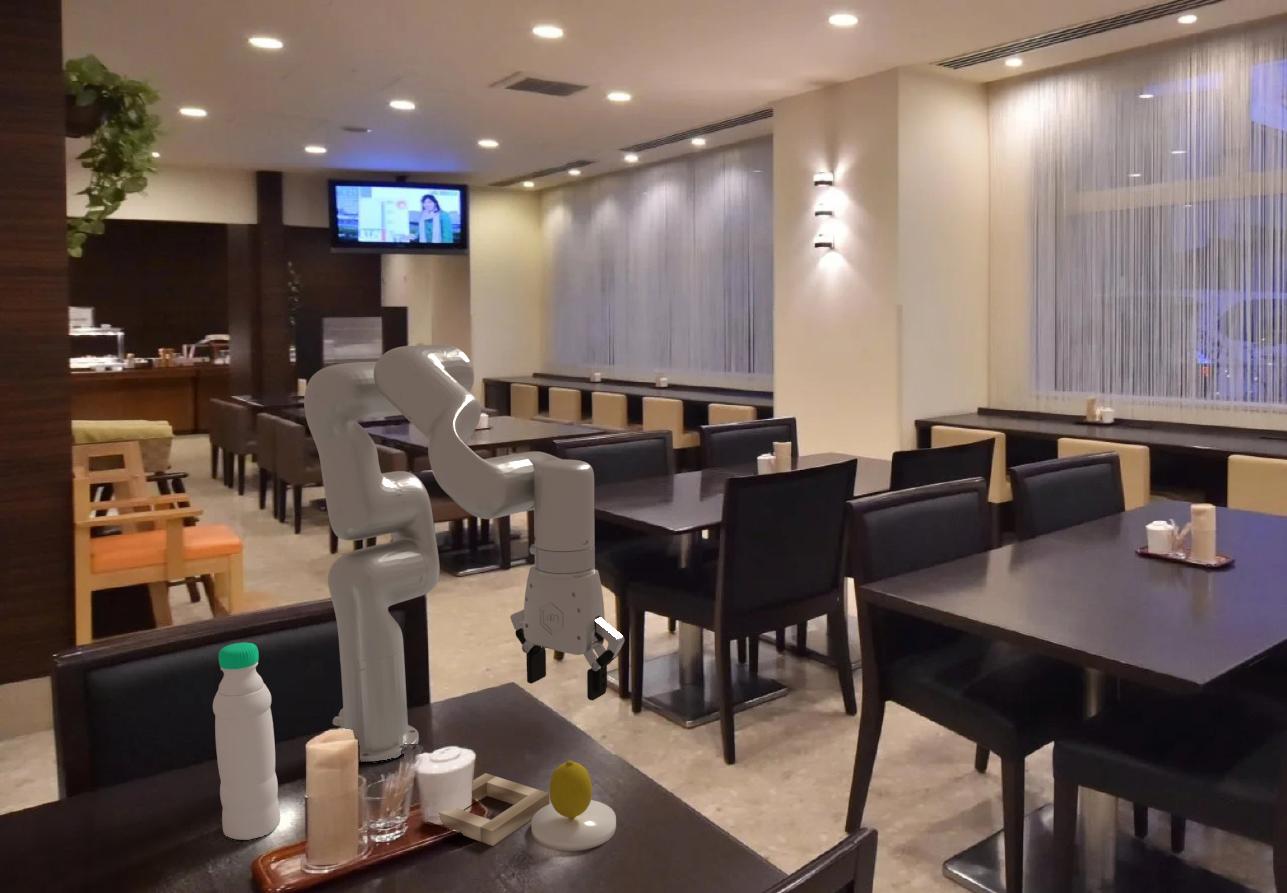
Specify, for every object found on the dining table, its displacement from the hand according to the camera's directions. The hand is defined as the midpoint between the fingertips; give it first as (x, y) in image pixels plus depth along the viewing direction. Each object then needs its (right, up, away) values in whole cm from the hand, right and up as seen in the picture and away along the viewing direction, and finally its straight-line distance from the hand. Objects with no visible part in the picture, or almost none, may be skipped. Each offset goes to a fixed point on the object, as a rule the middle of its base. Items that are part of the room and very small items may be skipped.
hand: (566, 688), depth 125 cm
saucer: (+1, -19, +2) cm, 19 cm away
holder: (-11, -19, +6) cm, 22 cm away
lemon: (+1, -18, +2) cm, 18 cm away
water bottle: (-42, -20, +4) cm, 46 cm away
